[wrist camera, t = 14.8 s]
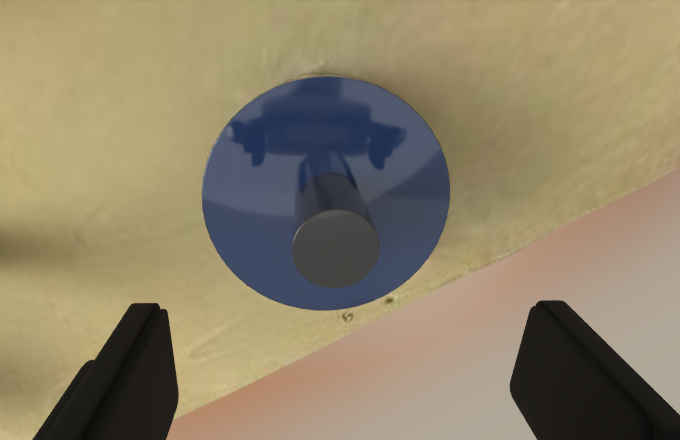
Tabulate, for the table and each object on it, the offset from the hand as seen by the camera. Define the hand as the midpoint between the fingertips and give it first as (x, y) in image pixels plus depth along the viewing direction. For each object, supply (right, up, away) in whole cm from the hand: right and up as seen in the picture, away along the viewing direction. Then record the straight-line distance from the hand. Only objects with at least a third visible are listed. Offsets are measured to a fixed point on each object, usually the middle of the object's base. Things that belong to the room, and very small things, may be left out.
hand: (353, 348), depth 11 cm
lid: (-1, +4, +11) cm, 12 cm away
